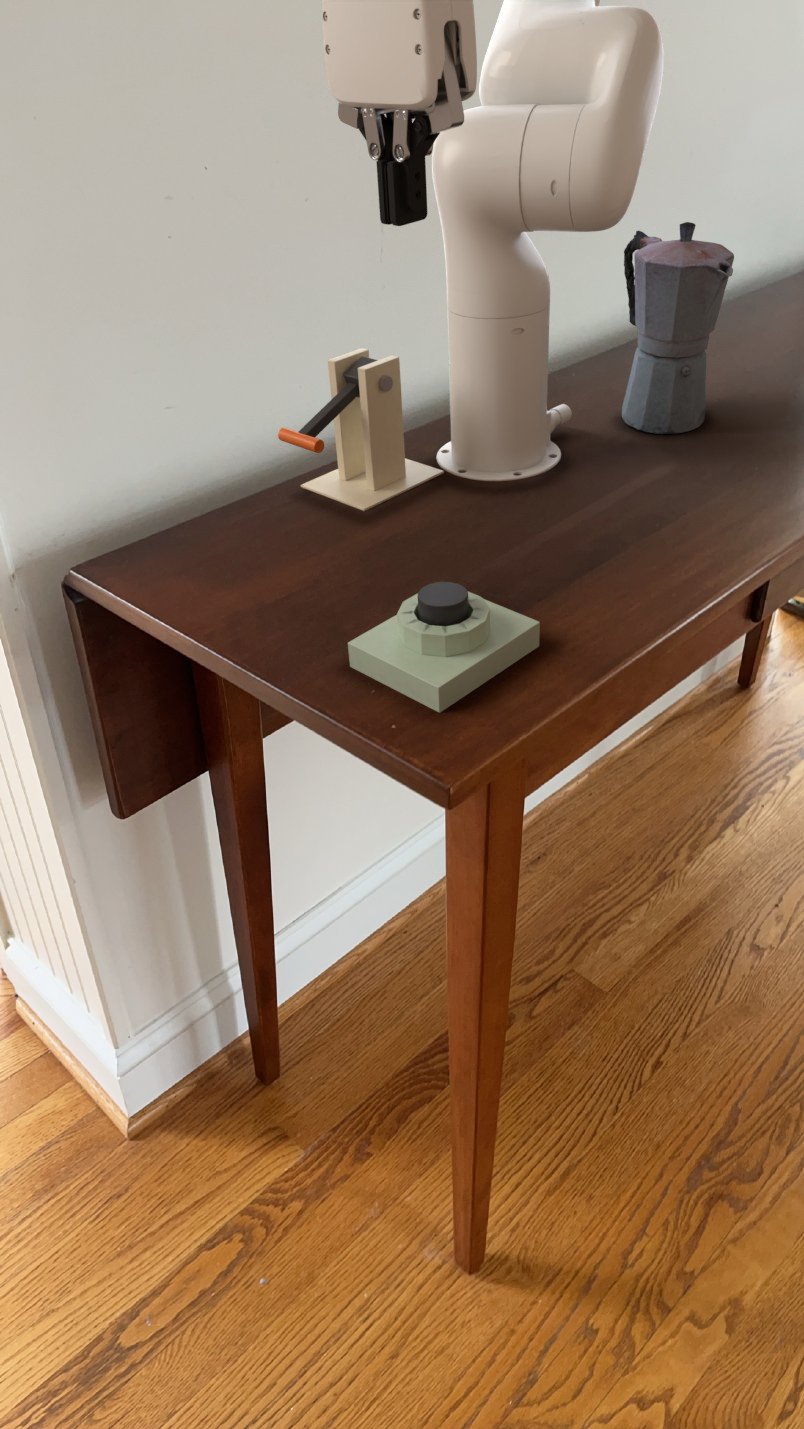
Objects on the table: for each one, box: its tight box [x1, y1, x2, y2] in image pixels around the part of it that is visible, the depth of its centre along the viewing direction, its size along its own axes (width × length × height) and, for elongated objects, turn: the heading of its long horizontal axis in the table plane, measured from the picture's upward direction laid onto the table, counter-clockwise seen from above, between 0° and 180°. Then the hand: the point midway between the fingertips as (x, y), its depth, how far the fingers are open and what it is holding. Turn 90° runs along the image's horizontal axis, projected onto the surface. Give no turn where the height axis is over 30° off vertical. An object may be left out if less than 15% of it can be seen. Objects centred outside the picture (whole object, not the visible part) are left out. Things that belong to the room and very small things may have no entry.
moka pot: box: [621, 221, 735, 435], centre depth 106 cm, size 10×15×20 cm, turn 33°
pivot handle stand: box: [300, 347, 445, 512], centre depth 97 cm, size 11×9×13 cm
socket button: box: [417, 581, 469, 626], centre depth 73 cm, size 4×4×2 cm
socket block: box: [347, 591, 541, 713], centre depth 75 cm, size 11×9×4 cm
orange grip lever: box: [277, 356, 379, 454], centre depth 93 cm, size 11×5×2 cm, turn 136°
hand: (404, 221), depth 72 cm, fingers closed
